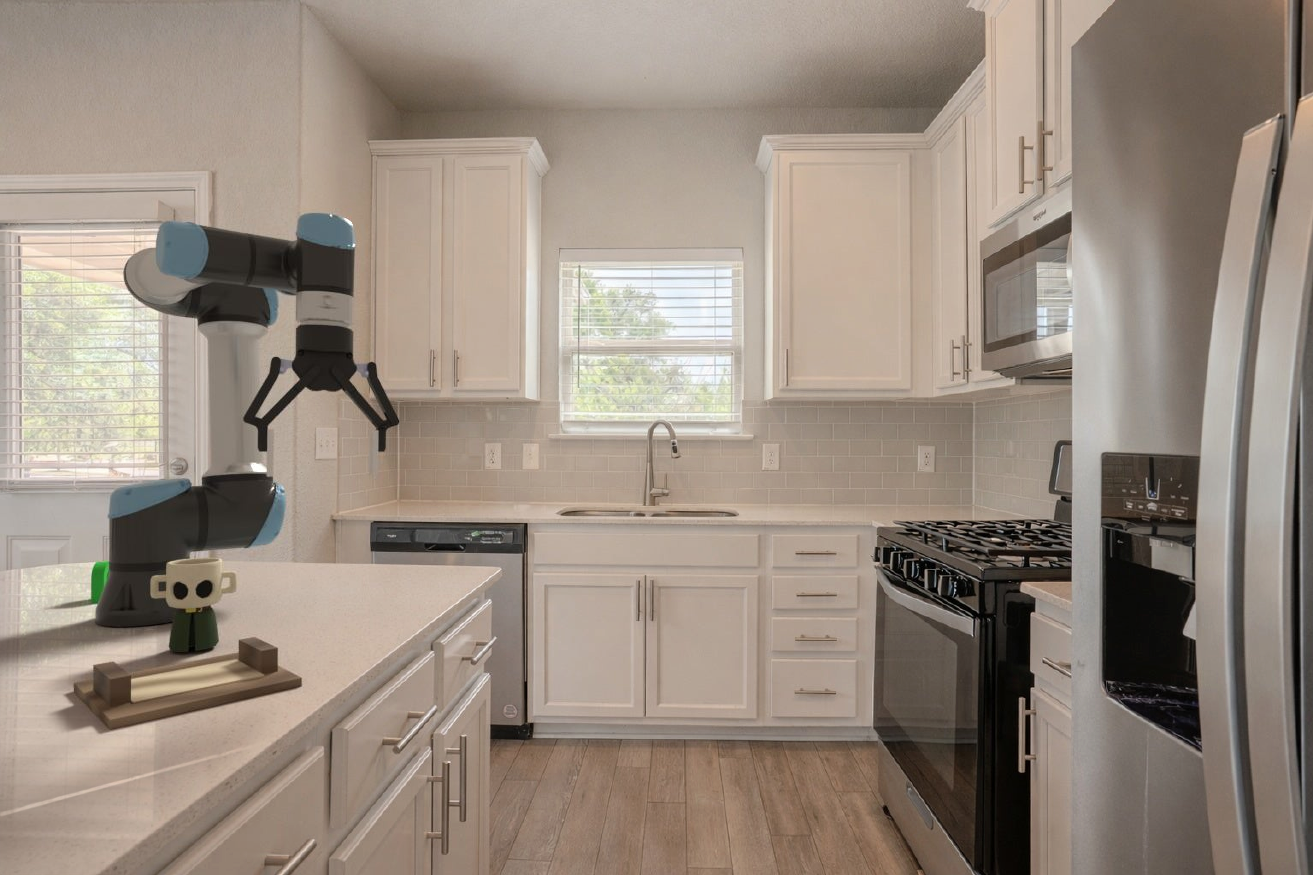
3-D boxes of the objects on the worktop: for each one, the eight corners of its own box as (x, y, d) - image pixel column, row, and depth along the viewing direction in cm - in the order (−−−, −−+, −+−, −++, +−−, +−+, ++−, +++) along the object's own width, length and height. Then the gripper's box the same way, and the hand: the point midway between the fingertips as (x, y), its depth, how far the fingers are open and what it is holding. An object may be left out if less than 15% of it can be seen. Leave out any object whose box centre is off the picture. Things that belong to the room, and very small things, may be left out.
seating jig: (73, 690, 94) (73, 658, 94) (248, 657, 108) (248, 629, 108) (110, 729, 82) (110, 691, 82) (301, 685, 96) (302, 653, 96)
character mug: (145, 660, 107) (146, 567, 107) (153, 648, 113) (154, 559, 113) (234, 651, 111) (235, 562, 112) (237, 640, 118) (238, 555, 118)
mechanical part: (128, 605, 143) (128, 562, 143) (91, 607, 141) (91, 563, 141) (150, 593, 155) (150, 553, 155) (115, 594, 153) (115, 554, 153)
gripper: (223, 315, 100) (222, 478, 100) (420, 329, 112) (418, 475, 112) (224, 322, 106) (223, 474, 106) (410, 335, 118) (408, 472, 118)
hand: (323, 475), depth 109 cm, fingers open, 13 cm apart
